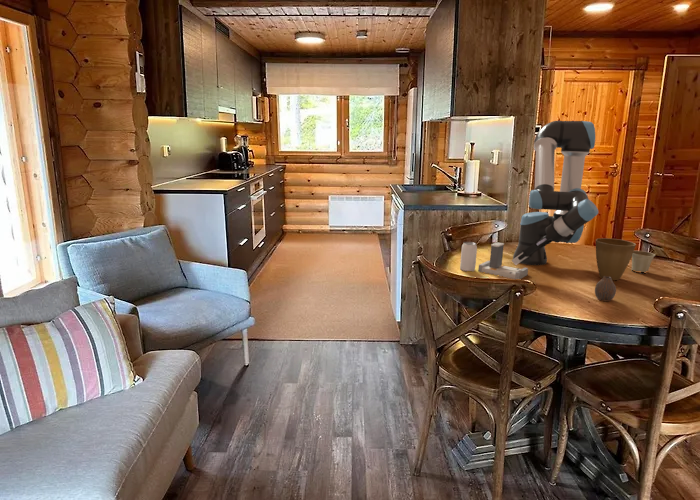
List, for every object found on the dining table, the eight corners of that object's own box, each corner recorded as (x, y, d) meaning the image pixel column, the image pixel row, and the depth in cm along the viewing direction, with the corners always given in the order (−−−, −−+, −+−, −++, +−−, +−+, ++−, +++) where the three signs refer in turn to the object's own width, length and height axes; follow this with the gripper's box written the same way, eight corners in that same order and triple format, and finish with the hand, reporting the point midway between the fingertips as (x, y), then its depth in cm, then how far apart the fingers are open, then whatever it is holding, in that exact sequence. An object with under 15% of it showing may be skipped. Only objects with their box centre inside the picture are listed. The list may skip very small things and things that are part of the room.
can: (475, 272, 213) (477, 245, 210) (460, 271, 214) (462, 244, 211) (474, 268, 219) (477, 242, 216) (459, 267, 220) (462, 241, 217)
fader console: (527, 274, 211) (528, 268, 210) (518, 280, 203) (519, 273, 202) (487, 266, 222) (488, 260, 221) (478, 271, 214) (478, 264, 213)
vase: (589, 296, 185) (593, 274, 183) (607, 296, 186) (610, 274, 184) (600, 302, 178) (603, 279, 176) (618, 302, 179) (622, 279, 177)
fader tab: (501, 268, 216) (504, 243, 213) (495, 271, 211) (498, 245, 208) (494, 267, 218) (497, 242, 215) (488, 270, 213) (491, 244, 210)
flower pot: (650, 270, 222) (653, 252, 220) (653, 276, 214) (656, 256, 212) (626, 267, 226) (630, 249, 224) (628, 273, 217) (631, 254, 215)
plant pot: (632, 285, 200) (639, 247, 196) (592, 280, 205) (597, 243, 201) (626, 275, 213) (632, 239, 210) (588, 271, 218) (594, 236, 214)
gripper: (560, 239, 188) (513, 272, 202) (570, 235, 198) (525, 266, 212) (547, 224, 190) (502, 258, 205) (558, 220, 200) (514, 252, 214)
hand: (514, 262), depth 208 cm, fingers closed
